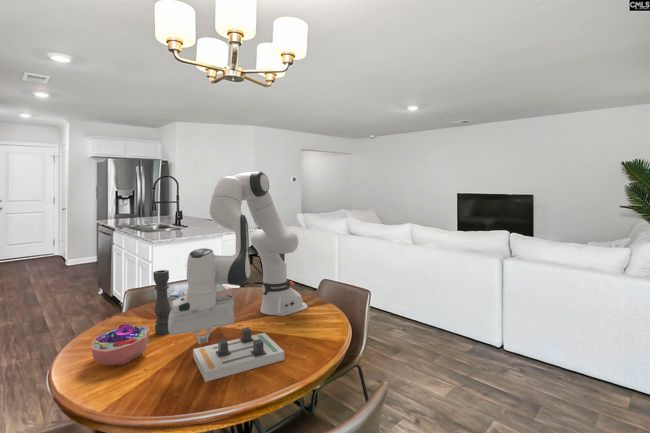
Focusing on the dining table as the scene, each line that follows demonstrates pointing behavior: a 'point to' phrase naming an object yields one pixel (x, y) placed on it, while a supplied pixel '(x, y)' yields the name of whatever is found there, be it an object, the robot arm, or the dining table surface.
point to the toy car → (223, 291)
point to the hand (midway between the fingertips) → (202, 342)
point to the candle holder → (161, 302)
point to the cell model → (120, 344)
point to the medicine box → (175, 296)
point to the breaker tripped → (222, 348)
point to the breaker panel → (235, 357)
